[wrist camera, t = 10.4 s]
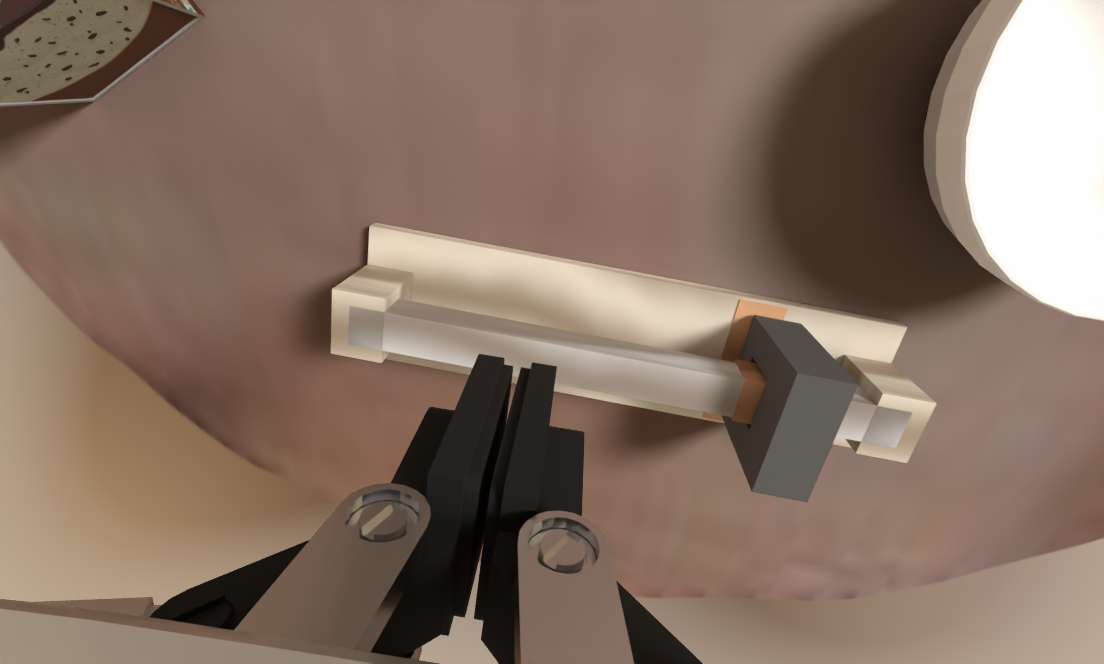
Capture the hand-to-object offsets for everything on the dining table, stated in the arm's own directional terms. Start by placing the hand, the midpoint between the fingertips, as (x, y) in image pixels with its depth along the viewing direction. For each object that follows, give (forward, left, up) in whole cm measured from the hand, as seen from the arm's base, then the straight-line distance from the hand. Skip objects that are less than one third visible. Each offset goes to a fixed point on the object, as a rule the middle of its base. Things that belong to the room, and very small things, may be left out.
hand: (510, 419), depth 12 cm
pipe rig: (+7, +5, -25) cm, 26 cm away
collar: (+7, +14, -23) cm, 28 cm away
